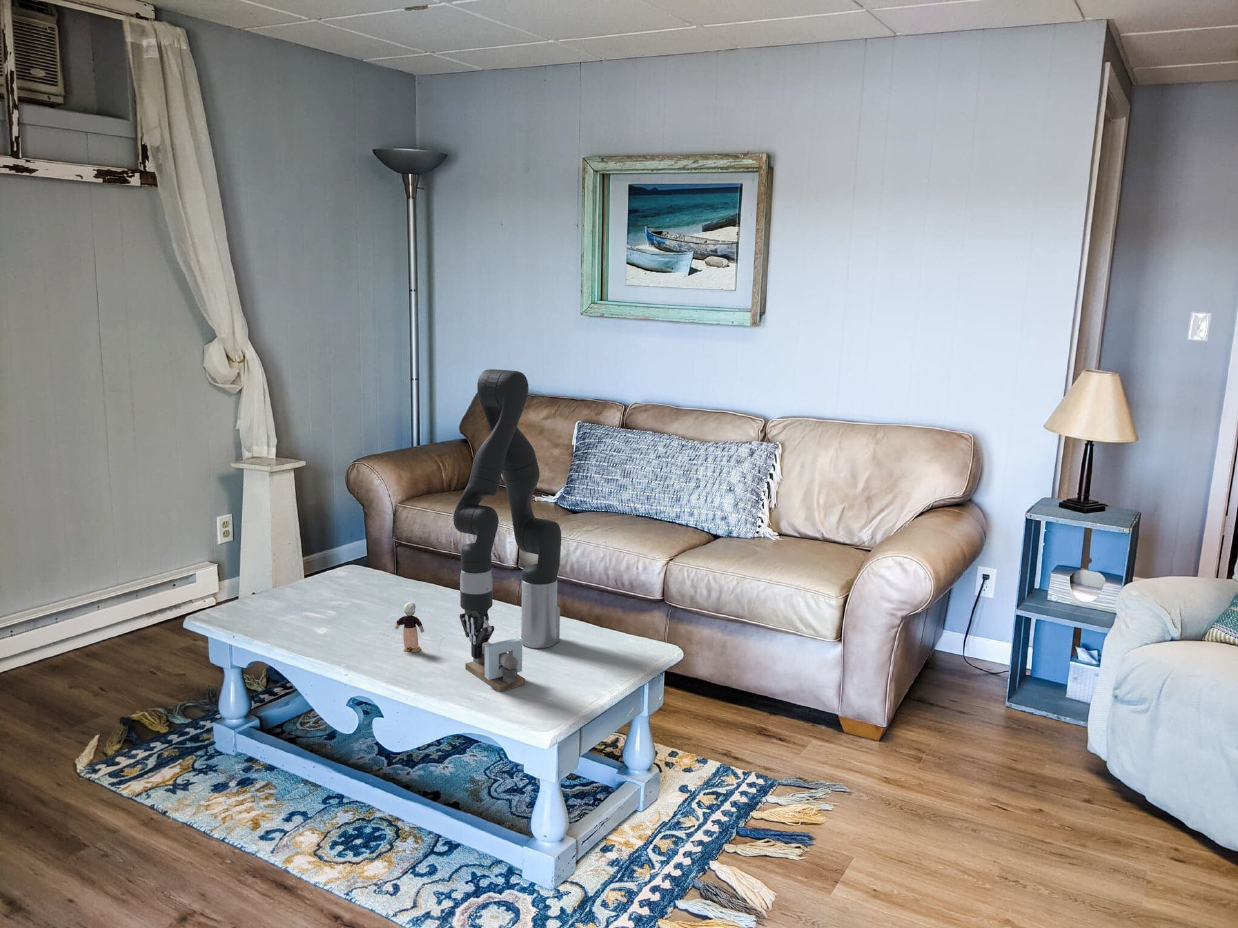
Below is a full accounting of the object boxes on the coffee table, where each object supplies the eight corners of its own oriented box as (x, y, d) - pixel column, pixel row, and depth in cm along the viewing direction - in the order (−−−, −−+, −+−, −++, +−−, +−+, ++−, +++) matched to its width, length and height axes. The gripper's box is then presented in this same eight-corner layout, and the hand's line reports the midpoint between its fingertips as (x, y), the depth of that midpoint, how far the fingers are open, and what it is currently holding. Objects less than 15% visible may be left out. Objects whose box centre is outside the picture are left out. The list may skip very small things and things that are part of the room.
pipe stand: (490, 662, 234) (490, 633, 232) (525, 684, 221) (525, 654, 220) (464, 668, 230) (464, 639, 228) (499, 691, 217) (499, 660, 216)
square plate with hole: (517, 668, 225) (517, 637, 224) (522, 671, 224) (522, 639, 222) (484, 676, 220) (484, 645, 219) (488, 679, 218) (489, 647, 217)
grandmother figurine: (426, 647, 243) (425, 600, 241) (423, 652, 239) (423, 604, 237) (396, 646, 243) (395, 599, 240) (393, 652, 239) (392, 604, 237)
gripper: (504, 592, 219) (504, 662, 222) (476, 577, 229) (476, 645, 232) (476, 598, 214) (477, 669, 217) (448, 583, 224) (449, 651, 228)
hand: (476, 657), depth 225 cm, fingers closed
